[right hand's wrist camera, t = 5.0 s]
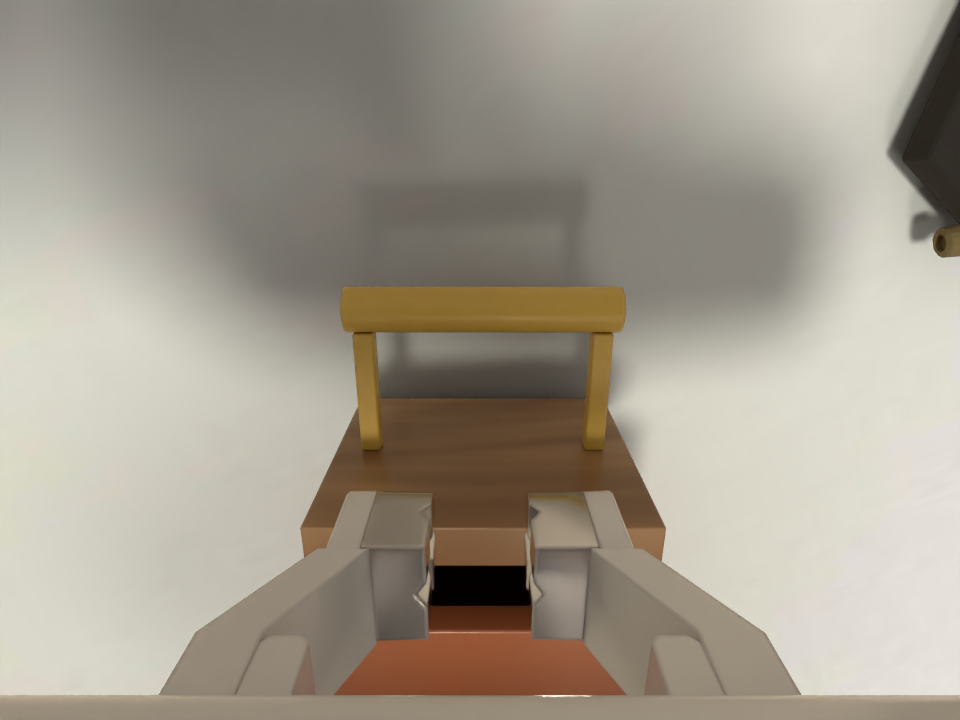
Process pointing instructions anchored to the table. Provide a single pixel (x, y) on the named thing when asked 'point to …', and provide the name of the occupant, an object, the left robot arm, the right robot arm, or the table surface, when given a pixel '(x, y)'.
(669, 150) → the table surface
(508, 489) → the drawer
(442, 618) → the cabinet
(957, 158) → the spray gun
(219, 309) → the table surface
